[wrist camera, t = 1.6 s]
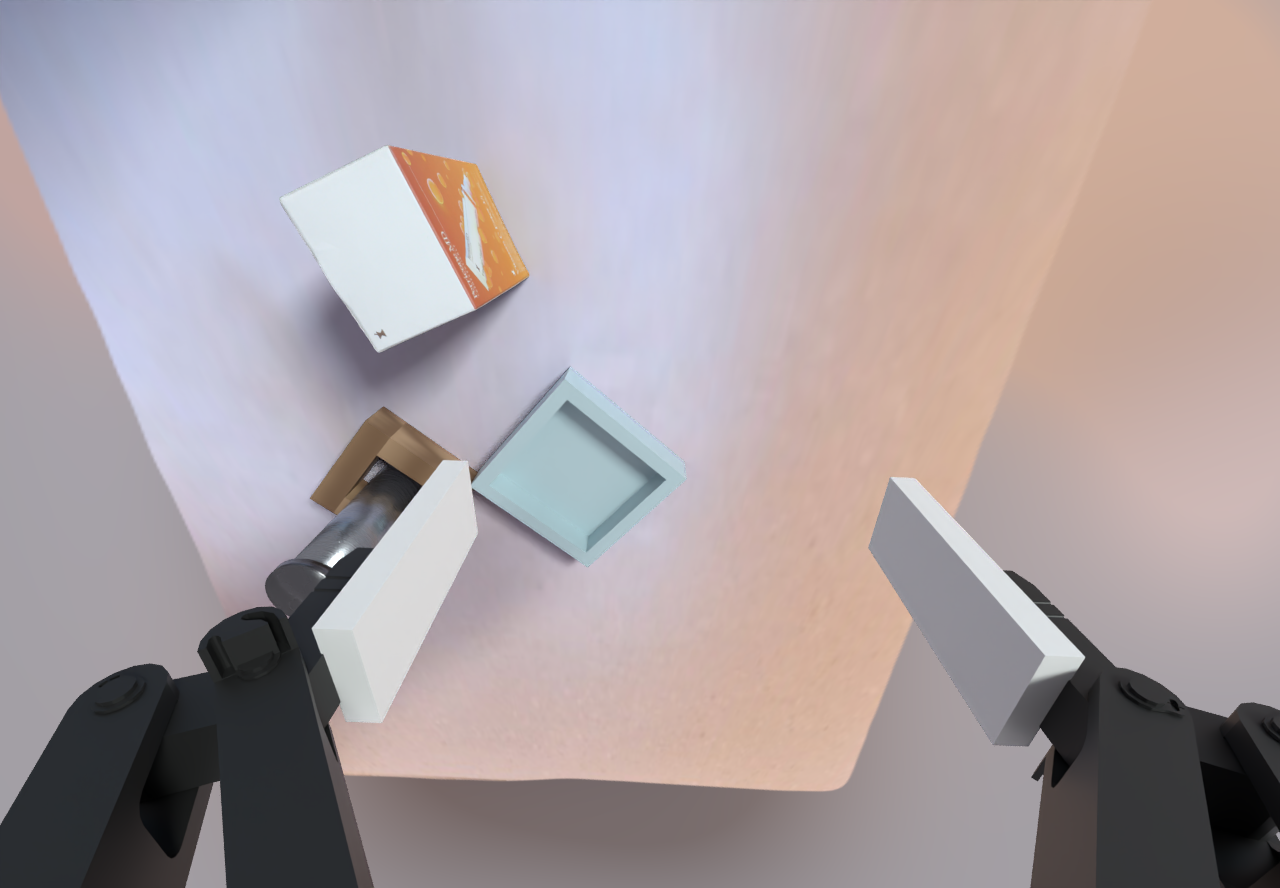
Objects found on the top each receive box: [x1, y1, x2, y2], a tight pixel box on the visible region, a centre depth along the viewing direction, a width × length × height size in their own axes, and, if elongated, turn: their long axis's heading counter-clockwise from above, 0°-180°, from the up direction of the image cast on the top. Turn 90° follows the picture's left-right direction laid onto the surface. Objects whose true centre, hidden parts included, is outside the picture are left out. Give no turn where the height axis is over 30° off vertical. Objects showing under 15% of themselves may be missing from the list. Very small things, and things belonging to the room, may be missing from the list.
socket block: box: [310, 406, 478, 515], centre depth 43 cm, size 10×10×3 cm
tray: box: [471, 367, 687, 567], centre depth 43 cm, size 13×13×3 cm
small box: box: [279, 145, 529, 353], centre depth 30 cm, size 8×6×13 cm
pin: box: [265, 463, 423, 616], centre depth 38 cm, size 5×5×15 cm
